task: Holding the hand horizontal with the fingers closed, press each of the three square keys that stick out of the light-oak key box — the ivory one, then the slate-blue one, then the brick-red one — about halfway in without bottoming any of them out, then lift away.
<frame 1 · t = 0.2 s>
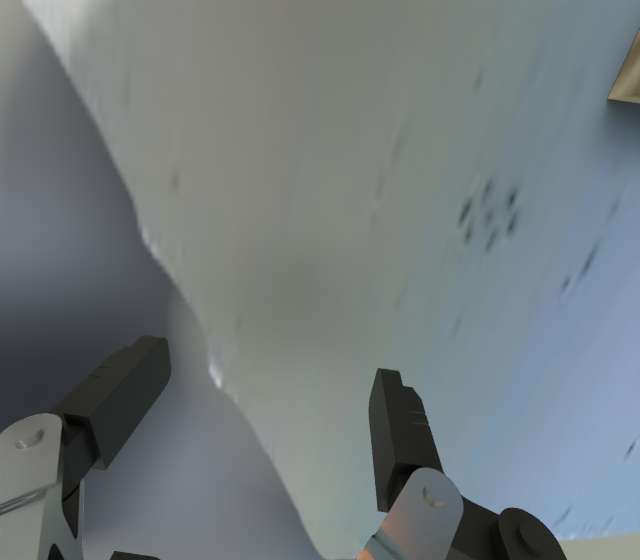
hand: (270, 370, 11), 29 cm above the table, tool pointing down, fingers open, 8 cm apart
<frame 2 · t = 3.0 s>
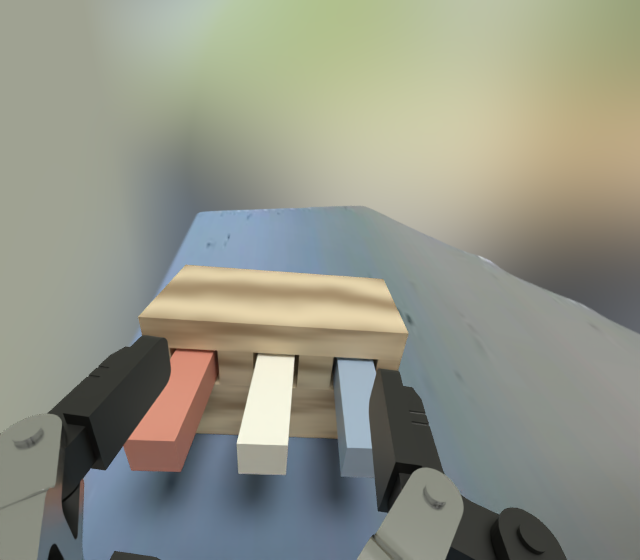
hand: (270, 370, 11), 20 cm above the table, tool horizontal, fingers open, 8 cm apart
white key: (272, 393, 24), point 9 cm above the table, slide at 0.0 cm
key box: (273, 436, 31), on the table
red key: (184, 389, 24), point 9 cm above the table, slide at 0.0 cm
blue key: (356, 397, 25), point 9 cm above the table, slide at 0.0 cm
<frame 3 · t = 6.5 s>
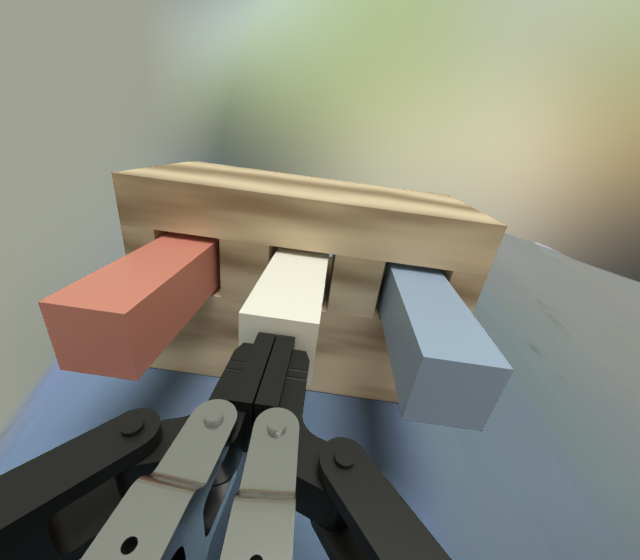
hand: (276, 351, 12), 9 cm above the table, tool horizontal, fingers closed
white key: (296, 290, 17), point 9 cm above the table, slide at 1.1 cm, touching gripper
key box: (288, 387, 22), on the table
red key: (167, 281, 16), point 9 cm above the table, slide at 0.0 cm
blue key: (420, 317, 16), point 9 cm above the table, slide at 0.0 cm
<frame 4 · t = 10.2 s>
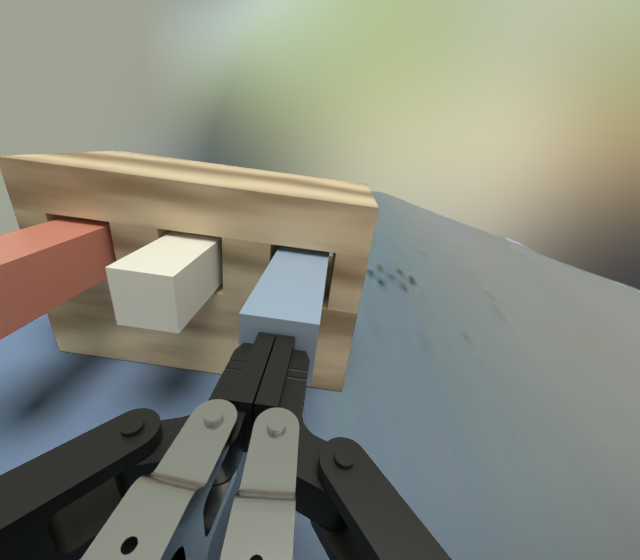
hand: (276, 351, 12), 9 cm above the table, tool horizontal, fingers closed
white key: (194, 260, 19), point 9 cm above the table, slide at 3.0 cm
key box: (199, 370, 23), on the table
red key: (49, 262, 17), point 9 cm above the table, slide at 0.0 cm
blue key: (296, 290, 17), point 9 cm above the table, slide at 0.8 cm, touching gripper
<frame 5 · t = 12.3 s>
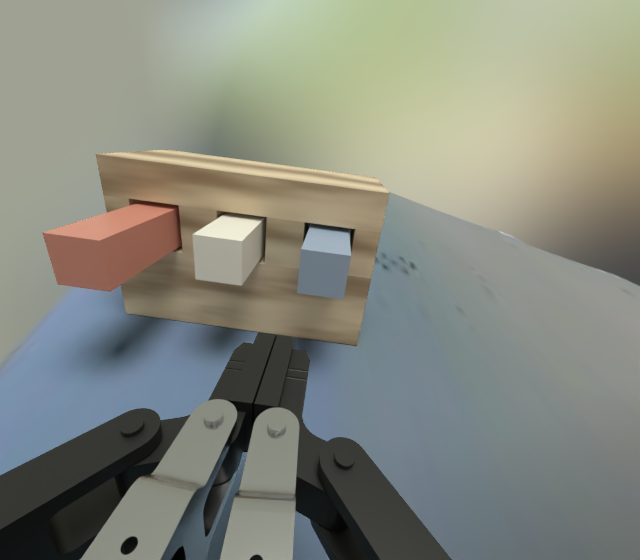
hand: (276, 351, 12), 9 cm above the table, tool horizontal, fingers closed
white key: (243, 236, 25), point 9 cm above the table, slide at 3.0 cm
key box: (240, 329, 28), on the table
red key: (137, 235, 22), point 9 cm above the table, slide at 0.0 cm
blue key: (327, 247, 25), point 9 cm above the table, slide at 3.0 cm
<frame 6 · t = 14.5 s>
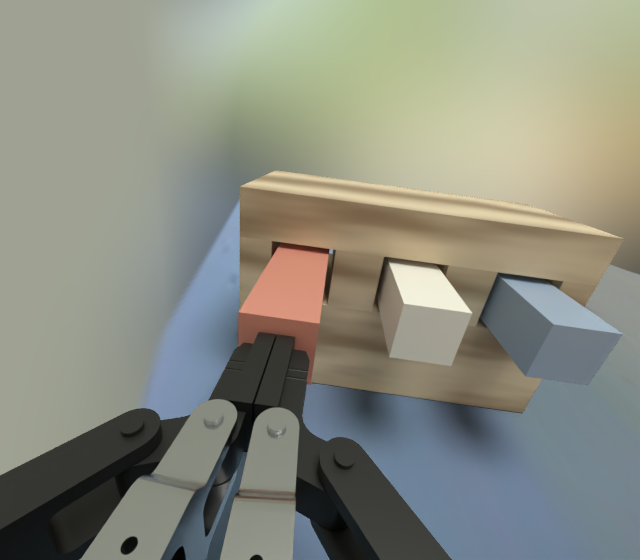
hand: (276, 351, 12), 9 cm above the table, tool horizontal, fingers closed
white key: (407, 286, 20), point 9 cm above the table, slide at 3.0 cm
key box: (379, 392, 23), on the table
red key: (295, 289, 17), point 9 cm above the table, slide at 0.3 cm, touching gripper
blue key: (513, 301, 19), point 9 cm above the table, slide at 3.0 cm
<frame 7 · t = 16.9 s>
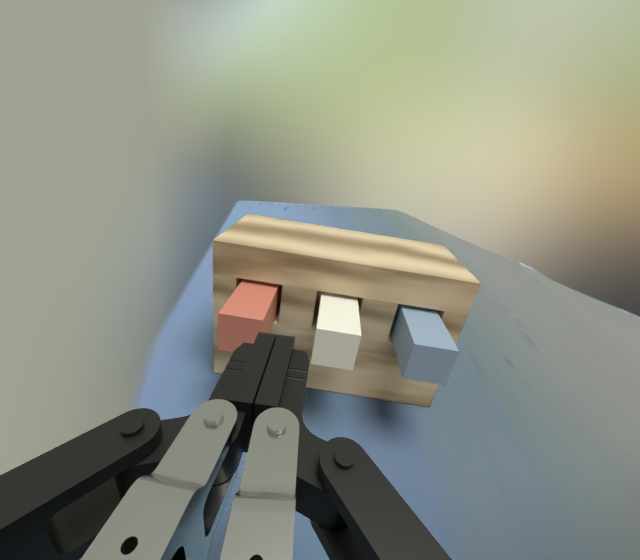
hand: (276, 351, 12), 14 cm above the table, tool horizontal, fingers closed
white key: (336, 311, 27), point 9 cm above the table, slide at 3.0 cm
key box: (321, 389, 30), on the table
red key: (259, 299, 27), point 9 cm above the table, slide at 2.9 cm
blue key: (413, 323, 27), point 9 cm above the table, slide at 3.0 cm
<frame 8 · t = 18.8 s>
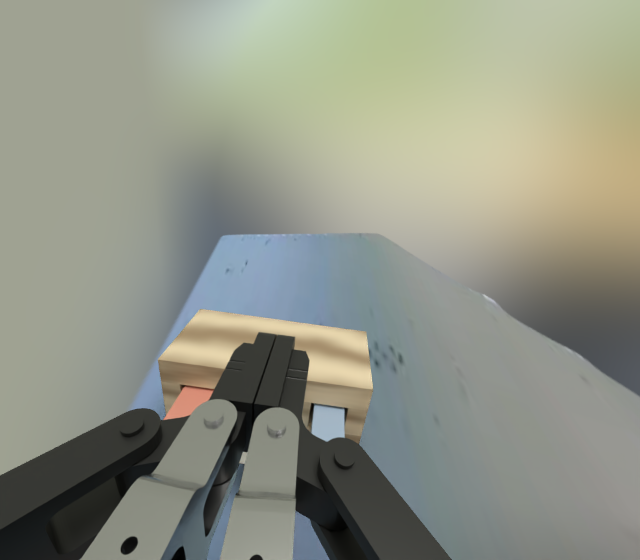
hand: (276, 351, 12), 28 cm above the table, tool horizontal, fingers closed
white key: (264, 406, 33), point 9 cm above the table, slide at 3.0 cm
key box: (260, 462, 36), on the table
red key: (201, 397, 33), point 9 cm above the table, slide at 2.9 cm
blue key: (327, 414, 33), point 9 cm above the table, slide at 3.0 cm
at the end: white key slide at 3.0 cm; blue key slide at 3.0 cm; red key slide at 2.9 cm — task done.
